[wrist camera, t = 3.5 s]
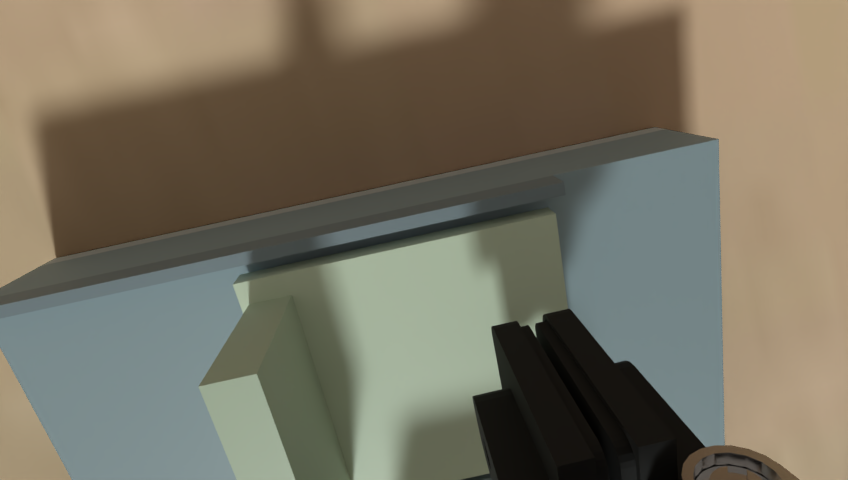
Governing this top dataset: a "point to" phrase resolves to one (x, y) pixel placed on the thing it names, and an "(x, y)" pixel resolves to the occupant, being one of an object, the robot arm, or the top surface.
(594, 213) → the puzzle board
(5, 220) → the top surface
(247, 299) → the sliding lid
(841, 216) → the top surface
